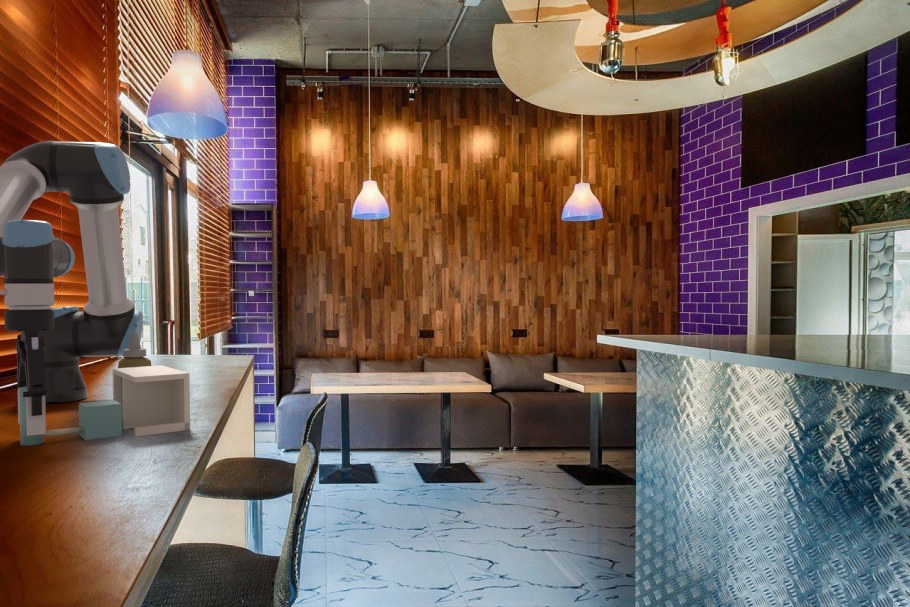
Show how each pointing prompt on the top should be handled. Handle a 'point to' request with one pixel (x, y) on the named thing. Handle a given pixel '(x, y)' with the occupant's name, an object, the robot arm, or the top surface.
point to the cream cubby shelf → (153, 399)
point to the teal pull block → (93, 422)
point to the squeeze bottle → (134, 354)
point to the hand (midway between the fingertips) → (31, 428)
